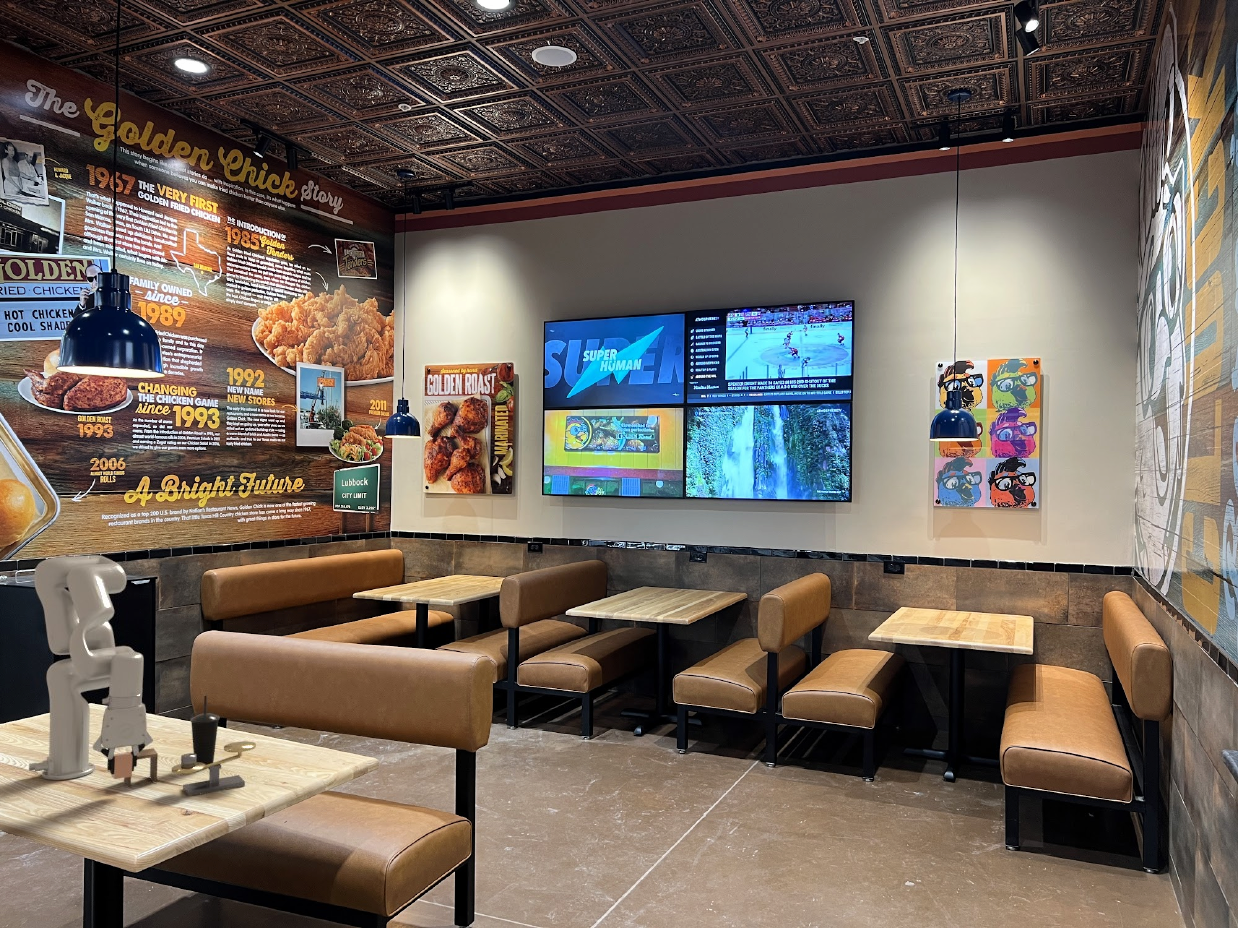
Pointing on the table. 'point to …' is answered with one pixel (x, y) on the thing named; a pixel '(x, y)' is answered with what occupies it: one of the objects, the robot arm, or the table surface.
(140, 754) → the arch
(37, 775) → the table surface
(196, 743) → the drinking cup
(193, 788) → the balance
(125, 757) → the block
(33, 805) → the table surface
